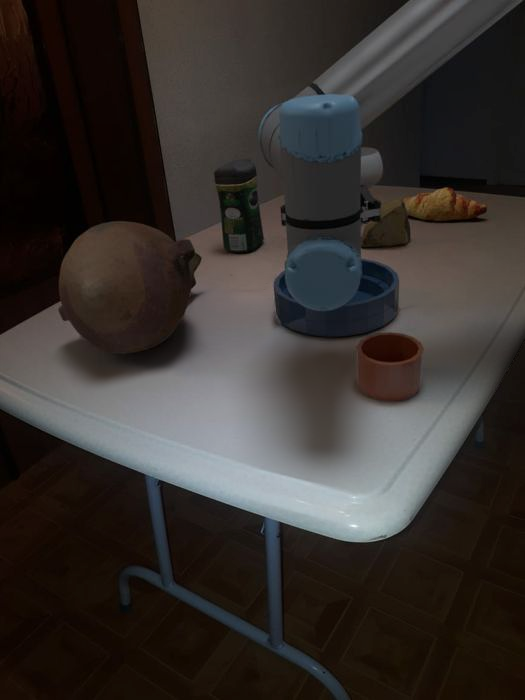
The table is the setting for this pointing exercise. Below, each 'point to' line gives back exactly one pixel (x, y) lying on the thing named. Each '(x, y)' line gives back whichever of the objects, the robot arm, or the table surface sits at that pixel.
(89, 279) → the jug
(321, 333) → the bowl
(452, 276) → the table surface
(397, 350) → the crock
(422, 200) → the croissant
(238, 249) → the coffee jar
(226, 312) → the table surface
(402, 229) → the rock
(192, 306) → the table surface
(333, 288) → the robot arm
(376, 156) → the chalice
